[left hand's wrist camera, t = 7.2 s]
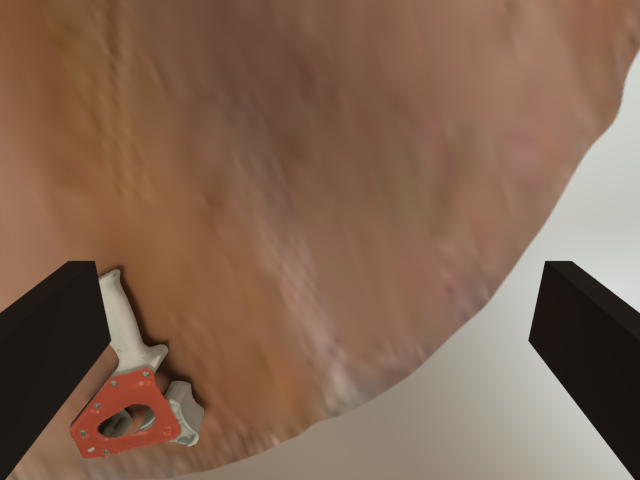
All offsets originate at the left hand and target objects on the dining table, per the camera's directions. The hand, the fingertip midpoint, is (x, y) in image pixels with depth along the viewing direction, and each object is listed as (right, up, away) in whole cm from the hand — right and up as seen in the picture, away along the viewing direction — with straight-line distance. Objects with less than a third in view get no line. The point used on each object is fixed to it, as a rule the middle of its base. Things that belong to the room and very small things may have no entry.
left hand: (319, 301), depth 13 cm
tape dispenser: (-19, -12, +35) cm, 42 cm away
